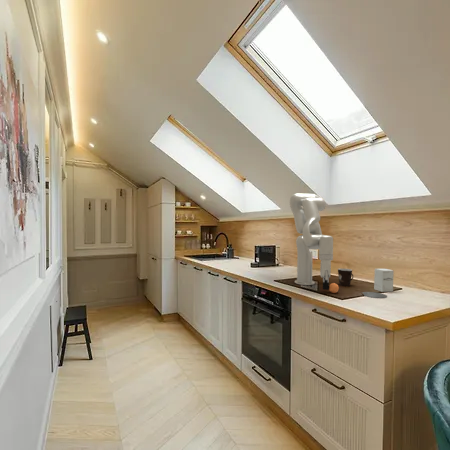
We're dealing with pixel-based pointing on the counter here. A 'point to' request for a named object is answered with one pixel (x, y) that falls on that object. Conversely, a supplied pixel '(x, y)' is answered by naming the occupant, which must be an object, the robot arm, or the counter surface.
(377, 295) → the disc
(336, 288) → the ball
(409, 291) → the counter surface
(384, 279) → the supplement box
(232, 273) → the counter surface
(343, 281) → the coffee mug
